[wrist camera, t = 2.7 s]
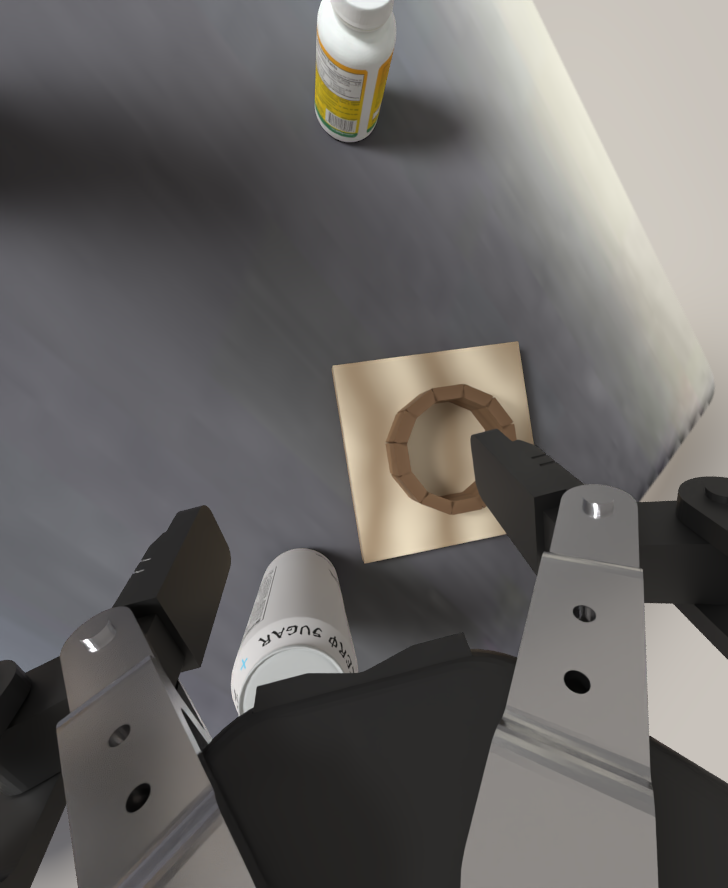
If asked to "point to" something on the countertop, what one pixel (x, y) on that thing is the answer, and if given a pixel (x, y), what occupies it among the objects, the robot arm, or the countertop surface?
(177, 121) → the countertop surface
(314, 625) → the energy drink can
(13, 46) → the countertop surface
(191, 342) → the countertop surface
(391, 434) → the can holder
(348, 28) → the supplement bottle
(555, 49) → the countertop surface
